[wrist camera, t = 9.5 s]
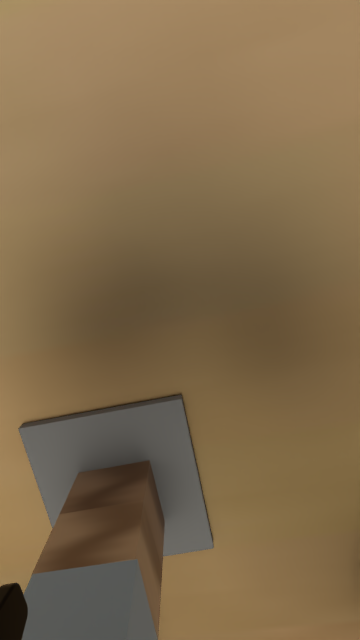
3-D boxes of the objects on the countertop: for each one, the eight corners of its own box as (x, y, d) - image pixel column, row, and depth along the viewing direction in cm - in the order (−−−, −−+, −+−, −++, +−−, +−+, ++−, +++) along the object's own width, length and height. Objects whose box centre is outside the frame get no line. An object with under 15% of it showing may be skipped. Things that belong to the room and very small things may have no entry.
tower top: (143, 500, 18) (135, 558, 15) (162, 569, 19) (158, 638, 16) (59, 514, 18) (31, 575, 15) (81, 582, 19) (60, 653, 16)
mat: (181, 394, 21) (181, 398, 21) (212, 540, 24) (213, 548, 23) (22, 423, 22) (18, 428, 21) (70, 564, 24) (67, 572, 24)
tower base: (149, 460, 22) (143, 500, 18) (164, 520, 23) (162, 569, 19) (78, 472, 22) (59, 514, 18) (96, 532, 23) (81, 582, 19)
